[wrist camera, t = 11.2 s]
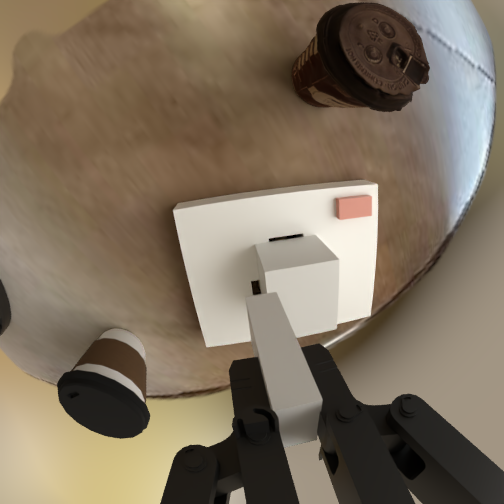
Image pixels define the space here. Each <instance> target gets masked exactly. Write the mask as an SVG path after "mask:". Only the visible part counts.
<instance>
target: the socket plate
mask: <svg viewBox="0 0 504 504" xmlns="http://www.w3.org/2000/svg"><path fill="white" fill-rule="evenodd" d="M173 213H174V218H175V223H176V228H177V232H178V237H179V242H180V246H181V251H182V255H183V259H184V264H185V268H186V272H187V276H188V280H189V284H190V288H191V292H192V296H193V300H194V304H195V308H196V311H197V315H198V319H199V322H200V326H201V330H202V333H203V337H204V340H205V344H206V347H213V346H221V345H228V344H235V343H241V342H248V341H251V336H250V328H249V321H248V314H247V307H246V299H245V297H248V296H255V295H261V293H260V294H254V295H253V292H252V285H251V281H256V280H259V272H258V264H257V256H256V248H255V244H259V243H266V242H269V238H275V237H282V236H289V235H295V234H296V238H299V237H306V236H312V235H316V236H317V237H318V238H319V239H320V240H321V241H322V242H323V243H324V244H325V245H326V246H327V247H328V248H329V249H330V250H331V251H332V252H333V253H334V254H335V255H336V256H337V257H338V258H339V296H338V317H337V324H339V323H344V322H348V321H352V320H356V319H360V318H364V317H367V316H370V315H371V307H372V298H373V288H374V278H375V265H376V250H377V226H378V184H376V183H373V182H370V181H367V180H353V181H341V182H330V183H319V184H309V185H300V186H291V187H283V188H275V189H267V190H259V191H252V192H245V193H238V194H231V195H225V196H218V197H212V198H206V199H200V200H194V201H188V202H182V203H178V204H177V205H176V206H175V208H174V209H173Z"/></svg>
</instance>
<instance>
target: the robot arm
mask: <svg viewBox="0 0 504 504" xmlns="http://www.w3.org/2000/svg"><path fill="white" fill-rule="evenodd" d="M245 299H246V307H247V314H248V321H249V328H250V336H251V342H252V346H253V351H254V355H255V357H253V358H247V359H241V360H234V361H233V362H232V364H231V367H230V369H229V376H230V384H231V392H232V400H233V407H234V415H235V417H234V418H233V423H232V427H233V430H234V431H233V432H232V434H231V435H230V436H229V437H228V438H227V439H226V440H224V441H222V442H220V443H217V444H215V445H212V446H210V447H205V446H202V445H189V446H187V447H184V448H182V449H181V450H180V451H179V452H177V454H176V456H175V457H174V460H173V463H172V466H171V470H170V473H169V476H168V480H167V483H166V486H165V490H164V493H163V496H162V500H161V503H160V504H229V500H230V493H231V492H232V491H234V490H237V489H239V488H241V487H244V492H245V498H246V504H299V501H298V497H297V493H296V490H295V486H294V483H293V479H292V475H291V472H290V468H289V465H288V461H287V457H286V454H285V450H284V447H288V446H293V445H298V444H302V443H306V442H310V441H314V440H317V435H318V436H319V439H320V442H321V447H320V452H319V460H322V458H323V460H324V463H325V465H326V468H327V471H328V474H329V476H330V479H331V482H332V485H333V488H334V490H335V493H336V496H337V499H338V502H339V504H415V502H414V500H413V498H412V496H411V494H410V492H409V490H410V491H411V492H412V493H413V494H414V495H415V496H416V497H417V498H418V499H419V501H420V502H421V503H423V504H504V471H503V470H501V469H500V468H499V467H498V466H497V465H496V464H495V463H494V462H492V461H491V460H490V459H489V458H488V457H487V456H486V455H484V454H483V453H482V452H481V451H480V450H479V449H478V448H477V447H476V446H474V445H473V444H472V443H471V442H470V441H469V440H468V439H466V438H465V437H464V436H463V435H462V434H460V432H458V430H456V429H455V428H454V427H453V426H452V425H451V424H450V423H448V422H447V421H446V420H445V419H444V418H443V417H442V416H441V415H439V414H438V413H437V412H436V411H435V410H433V408H431V407H430V406H429V405H428V404H427V403H426V402H425V401H424V400H422V399H421V398H420V397H418V396H416V395H412V394H403V395H401V396H398V397H397V398H396V399H395V400H394V401H393V402H392V404H387V405H375V406H374V405H366V404H363V403H361V402H360V401H358V400H356V399H355V398H354V397H353V395H352V394H351V392H350V390H349V388H348V386H347V384H346V383H345V381H344V379H343V377H342V375H341V373H340V371H339V370H338V369H337V366H336V364H335V362H334V361H333V358H332V356H331V354H330V353H329V351H328V350H327V349H326V348H325V347H323V346H322V345H321V344H315V345H310V346H306V347H301V348H300V345H299V343H298V341H297V338H296V336H295V334H294V331H293V329H292V327H291V324H290V322H289V320H288V317H287V315H286V313H285V310H284V308H283V306H282V304H281V301H280V299H279V297H278V294H277V292H273V293H267V294H261V295H255V296H248V297H245ZM10 319H11V312H10V305H9V301H8V298H7V294H6V292H5V289H4V287H3V285H2V282H1V280H0V336H1V335H2V334H3V332H4V331H5V330H6V329H7V328H8V326H9V324H10ZM408 489H409V490H408Z"/></svg>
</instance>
